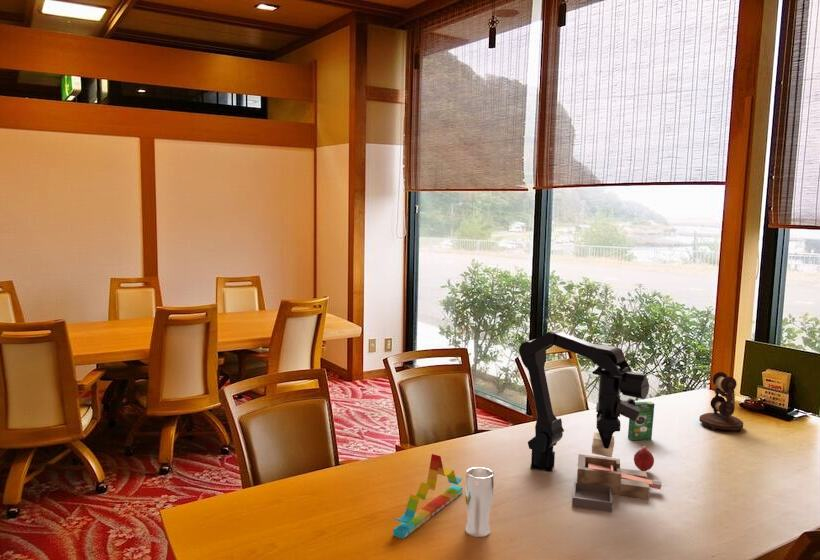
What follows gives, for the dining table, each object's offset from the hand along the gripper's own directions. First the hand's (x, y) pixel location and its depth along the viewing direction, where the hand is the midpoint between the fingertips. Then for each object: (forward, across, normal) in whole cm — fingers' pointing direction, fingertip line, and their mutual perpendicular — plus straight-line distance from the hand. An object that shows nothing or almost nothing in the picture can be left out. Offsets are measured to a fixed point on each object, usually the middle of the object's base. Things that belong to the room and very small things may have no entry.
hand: (606, 444), depth 186 cm
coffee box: (+12, +45, -13) cm, 48 cm away
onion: (+12, +15, -12) cm, 23 cm away
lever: (+10, 0, -5) cm, 11 cm away
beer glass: (+12, -38, +30) cm, 50 cm away
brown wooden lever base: (+12, 0, -2) cm, 12 cm away
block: (+2, 0, +1) cm, 3 cm away
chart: (+13, -32, +44) cm, 55 cm away
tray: (+12, -11, +3) cm, 17 cm away
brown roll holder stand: (+13, +69, -43) cm, 82 cm away
